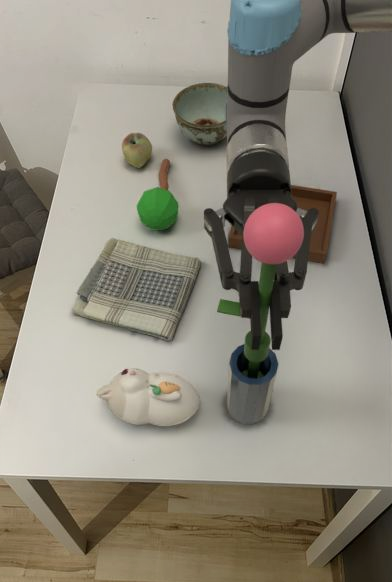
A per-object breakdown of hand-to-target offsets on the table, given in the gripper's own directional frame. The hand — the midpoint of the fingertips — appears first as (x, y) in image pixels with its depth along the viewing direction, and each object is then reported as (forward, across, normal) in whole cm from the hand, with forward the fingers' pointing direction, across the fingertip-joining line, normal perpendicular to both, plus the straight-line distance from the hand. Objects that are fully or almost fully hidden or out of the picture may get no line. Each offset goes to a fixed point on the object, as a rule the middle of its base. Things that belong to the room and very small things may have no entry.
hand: (266, 342), depth 49 cm
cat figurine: (-5, +15, -29) cm, 33 cm away
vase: (-6, 0, -29) cm, 29 cm away
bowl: (-68, +7, -29) cm, 74 cm away
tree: (-49, +16, -29) cm, 59 cm away
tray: (-43, -8, -29) cm, 52 cm away
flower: (-6, +1, -20) cm, 21 cm away
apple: (-61, +21, -29) cm, 70 cm away
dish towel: (-27, +19, -29) cm, 44 cm away
